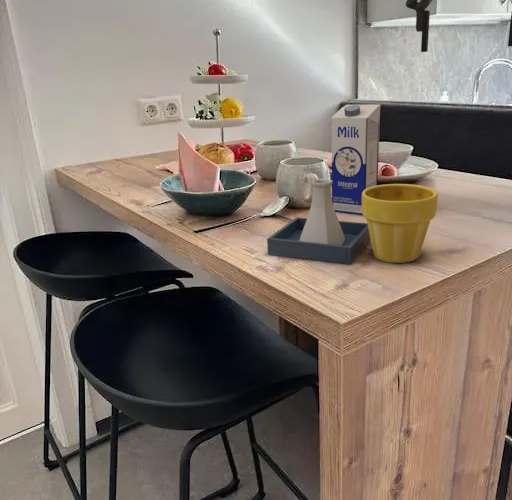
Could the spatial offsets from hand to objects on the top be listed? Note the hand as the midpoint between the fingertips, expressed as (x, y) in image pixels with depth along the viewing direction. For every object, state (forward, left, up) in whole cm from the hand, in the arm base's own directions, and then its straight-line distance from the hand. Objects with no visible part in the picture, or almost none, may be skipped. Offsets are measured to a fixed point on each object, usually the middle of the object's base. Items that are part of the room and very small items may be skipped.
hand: (465, 49), depth 85 cm
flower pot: (+5, +27, -29) cm, 40 cm away
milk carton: (+18, +3, -29) cm, 34 cm away
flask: (+17, +26, -28) cm, 42 cm away
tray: (+17, +26, -29) cm, 42 cm away
